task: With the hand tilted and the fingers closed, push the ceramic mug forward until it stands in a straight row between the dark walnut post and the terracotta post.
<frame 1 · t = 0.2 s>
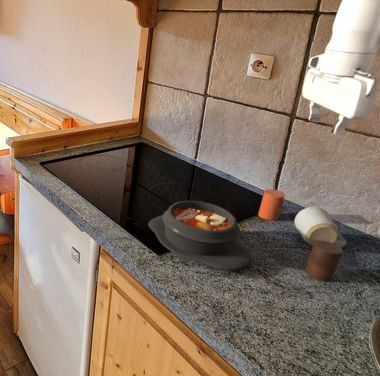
hand: (324, 127, 92), 27 cm above the worktop, tool pointing down, fingers open, 8 cm apart
ceramic mug: (317, 242, 99), on the worktop
walnut post: (318, 274, 87), on the worktop
terracotta post: (268, 216, 111), on the worktop
casserole: (195, 246, 96), on the worktop
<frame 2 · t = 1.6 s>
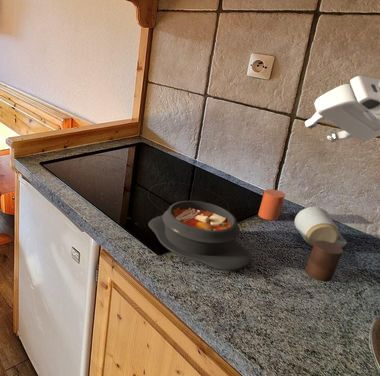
hand: (318, 132, 100), 24 cm above the worktop, tool tilted 45°, fingers open, 8 cm apart
nothing on the worktop moved.
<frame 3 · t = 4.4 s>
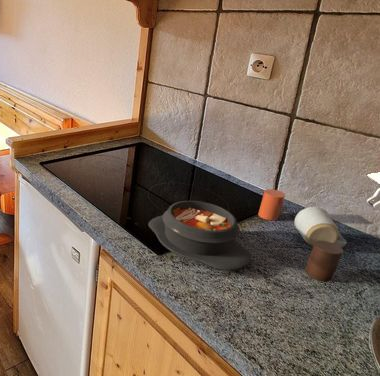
hand: (371, 205, 95), 10 cm above the worktop, tool tilted 45°, fingers closed
nothing on the worktop moved.
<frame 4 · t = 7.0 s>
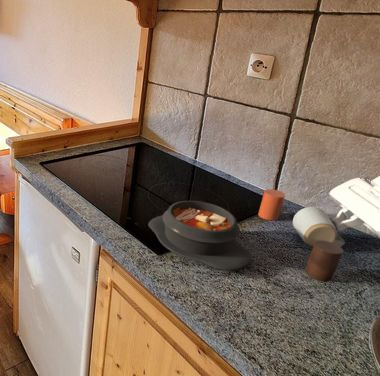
hand: (334, 226, 97), 4 cm above the worktop, tool tilted 45°, fingers closed
ceramic mug: (315, 242, 99), on the worktop, touching gripper
everything else where it was.
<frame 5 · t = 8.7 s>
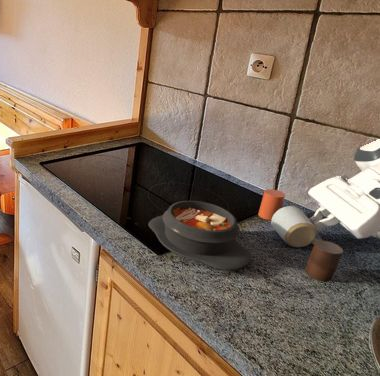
hand: (312, 225, 98), 4 cm above the worktop, tool tilted 45°, fingers closed
ceramic mug: (294, 240, 100), on the worktop, touching gripper
everything else where it was.
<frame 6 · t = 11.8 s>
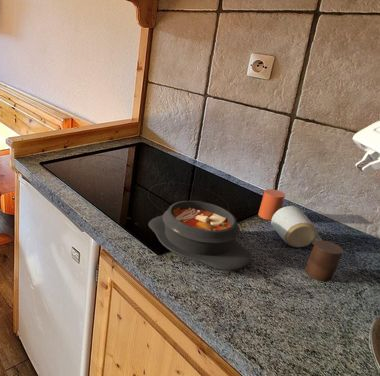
hand: (360, 169, 91), 19 cm above the worktop, tool tilted 45°, fingers closed
ceramic mug: (294, 240, 100), on the worktop
everything else where it was.
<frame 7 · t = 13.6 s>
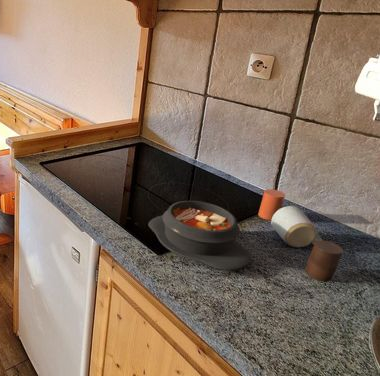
nothing on the worktop moved.
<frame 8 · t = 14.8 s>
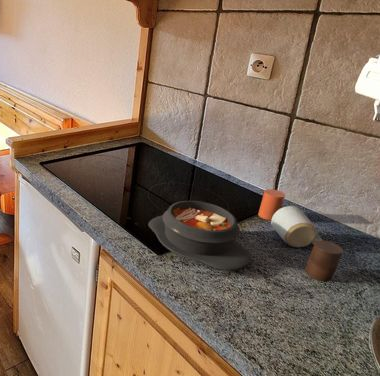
nothing on the worktop moved.
at the end: ceramic mug 1.6 cm from the target spot on the worktop beside the terracotta post, on the worktop; ceramic mug tilted 0°; walnut post moved 0.0 cm from its start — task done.
